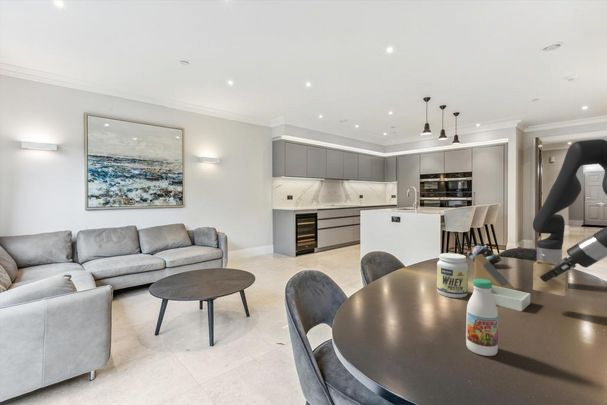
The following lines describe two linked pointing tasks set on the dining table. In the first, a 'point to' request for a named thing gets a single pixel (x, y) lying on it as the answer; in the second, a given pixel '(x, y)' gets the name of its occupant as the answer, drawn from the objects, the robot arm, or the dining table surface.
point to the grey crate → (510, 298)
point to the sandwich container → (490, 273)
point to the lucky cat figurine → (485, 252)
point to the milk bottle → (482, 320)
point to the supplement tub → (452, 275)
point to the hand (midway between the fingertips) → (544, 277)
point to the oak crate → (554, 284)
